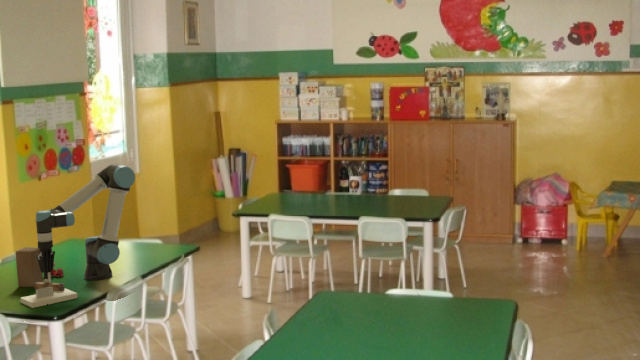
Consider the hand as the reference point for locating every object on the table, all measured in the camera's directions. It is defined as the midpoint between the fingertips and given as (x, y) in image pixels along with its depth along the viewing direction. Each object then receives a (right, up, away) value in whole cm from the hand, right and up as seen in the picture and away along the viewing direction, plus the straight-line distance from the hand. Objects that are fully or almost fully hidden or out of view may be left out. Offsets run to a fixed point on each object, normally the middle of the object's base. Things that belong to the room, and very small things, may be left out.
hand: (48, 284), depth 452 cm
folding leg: (+3, -2, -4) cm, 5 cm away
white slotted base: (+5, -6, -15) cm, 17 cm away
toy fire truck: (-8, 0, +35) cm, 36 cm away
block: (-15, -3, +16) cm, 22 cm away
